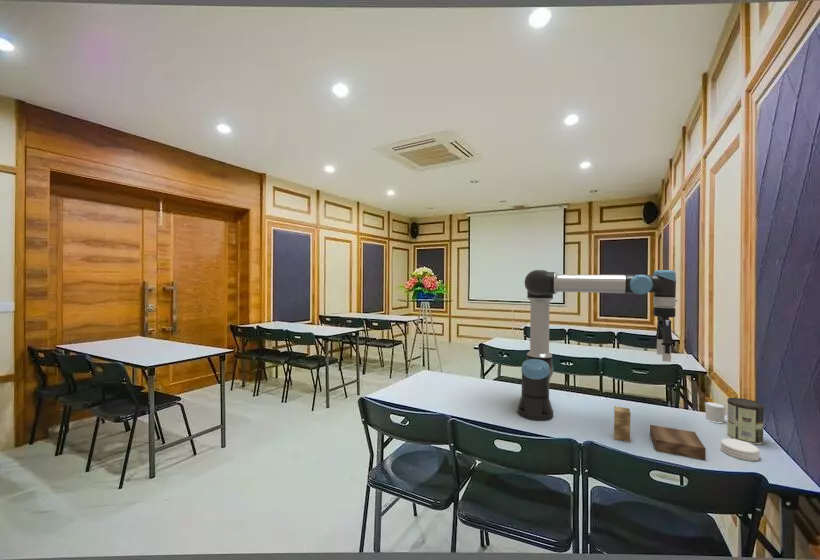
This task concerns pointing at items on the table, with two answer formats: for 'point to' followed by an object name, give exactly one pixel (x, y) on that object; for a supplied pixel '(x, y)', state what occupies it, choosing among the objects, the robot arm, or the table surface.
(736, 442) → the coaster
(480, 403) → the table surface
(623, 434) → the oak block
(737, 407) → the coffee can
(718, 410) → the white tapered cup
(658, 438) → the walnut block
